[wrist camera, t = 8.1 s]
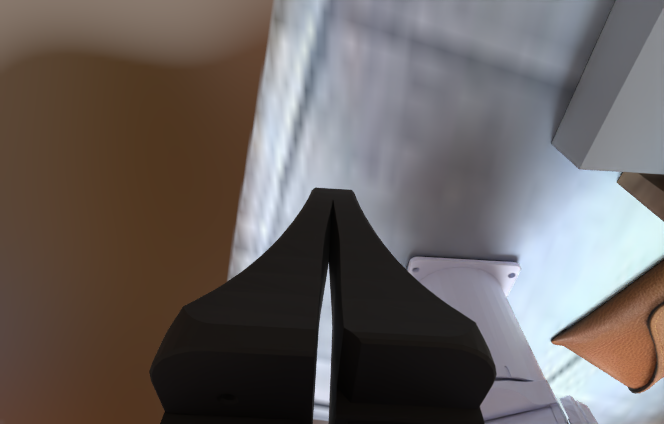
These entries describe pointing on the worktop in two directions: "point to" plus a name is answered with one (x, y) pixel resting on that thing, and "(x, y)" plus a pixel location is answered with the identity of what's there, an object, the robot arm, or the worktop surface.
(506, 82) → the worktop surface
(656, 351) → the sunglasses case
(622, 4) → the flat grey cuboid
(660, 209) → the overhang bridge
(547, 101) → the worktop surface
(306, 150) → the worktop surface
